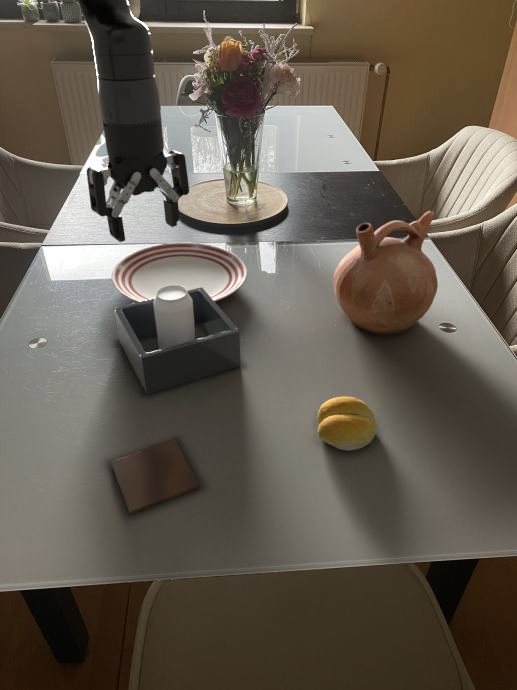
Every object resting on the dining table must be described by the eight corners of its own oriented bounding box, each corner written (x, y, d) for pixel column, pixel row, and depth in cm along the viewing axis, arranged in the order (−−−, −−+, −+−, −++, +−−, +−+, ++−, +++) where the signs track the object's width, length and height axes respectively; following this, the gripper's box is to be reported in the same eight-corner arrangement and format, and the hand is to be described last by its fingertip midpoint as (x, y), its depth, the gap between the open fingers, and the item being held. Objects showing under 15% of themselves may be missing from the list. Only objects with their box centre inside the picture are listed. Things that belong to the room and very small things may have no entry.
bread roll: (317, 452, 73) (319, 430, 71) (316, 408, 80) (318, 387, 78) (378, 455, 73) (382, 434, 70) (372, 410, 80) (375, 390, 78)
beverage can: (201, 346, 93) (197, 285, 86) (188, 367, 88) (182, 304, 81) (168, 340, 95) (161, 280, 88) (153, 361, 90) (145, 299, 83)
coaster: (129, 514, 65) (129, 512, 64) (111, 464, 71) (110, 461, 71) (199, 487, 68) (199, 485, 68) (175, 442, 75) (175, 439, 74)
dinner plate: (269, 270, 116) (269, 256, 114) (202, 333, 96) (201, 317, 95) (165, 246, 127) (163, 232, 125) (85, 298, 107) (81, 283, 105)
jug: (396, 287, 111) (412, 192, 99) (450, 333, 97) (476, 229, 85) (315, 302, 106) (322, 204, 94) (359, 353, 92) (375, 245, 80)
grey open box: (147, 394, 83) (141, 358, 79) (119, 341, 94) (113, 307, 90) (240, 366, 89) (240, 331, 85) (204, 319, 100) (202, 287, 96)
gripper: (164, 102, 75) (174, 213, 85) (66, 117, 68) (89, 236, 77) (193, 112, 70) (201, 228, 80) (92, 128, 63) (113, 254, 73)
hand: (146, 232), depth 79 cm, fingers open, 8 cm apart
